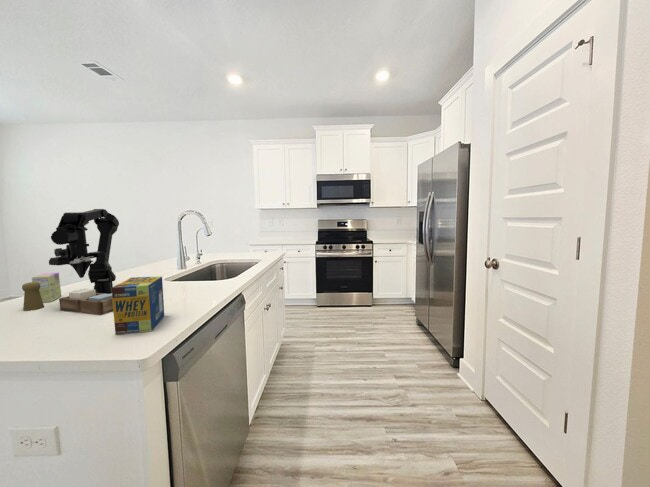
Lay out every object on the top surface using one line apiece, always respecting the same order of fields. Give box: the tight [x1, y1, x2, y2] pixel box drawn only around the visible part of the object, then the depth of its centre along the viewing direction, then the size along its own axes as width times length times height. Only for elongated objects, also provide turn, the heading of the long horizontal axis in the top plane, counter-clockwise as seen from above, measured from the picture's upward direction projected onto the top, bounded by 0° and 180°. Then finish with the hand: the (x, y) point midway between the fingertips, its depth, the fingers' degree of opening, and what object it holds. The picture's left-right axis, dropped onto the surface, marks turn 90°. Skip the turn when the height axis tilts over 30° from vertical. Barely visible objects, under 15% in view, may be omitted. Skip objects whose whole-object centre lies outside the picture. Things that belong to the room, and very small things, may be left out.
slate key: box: [89, 293, 112, 301], centre depth 111 cm, size 6×6×4 cm
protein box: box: [111, 276, 165, 335], centre depth 95 cm, size 10×15×16 cm
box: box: [31, 272, 62, 304], centre depth 126 cm, size 10×6×12 cm, turn 25°
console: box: [58, 293, 113, 316], centre depth 113 cm, size 10×22×5 cm, turn 74°
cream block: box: [68, 288, 96, 299], centre depth 114 cm, size 6×6×4 cm
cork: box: [21, 281, 45, 312], centre depth 114 cm, size 6×6×11 cm
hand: (81, 277), depth 119 cm, fingers closed
